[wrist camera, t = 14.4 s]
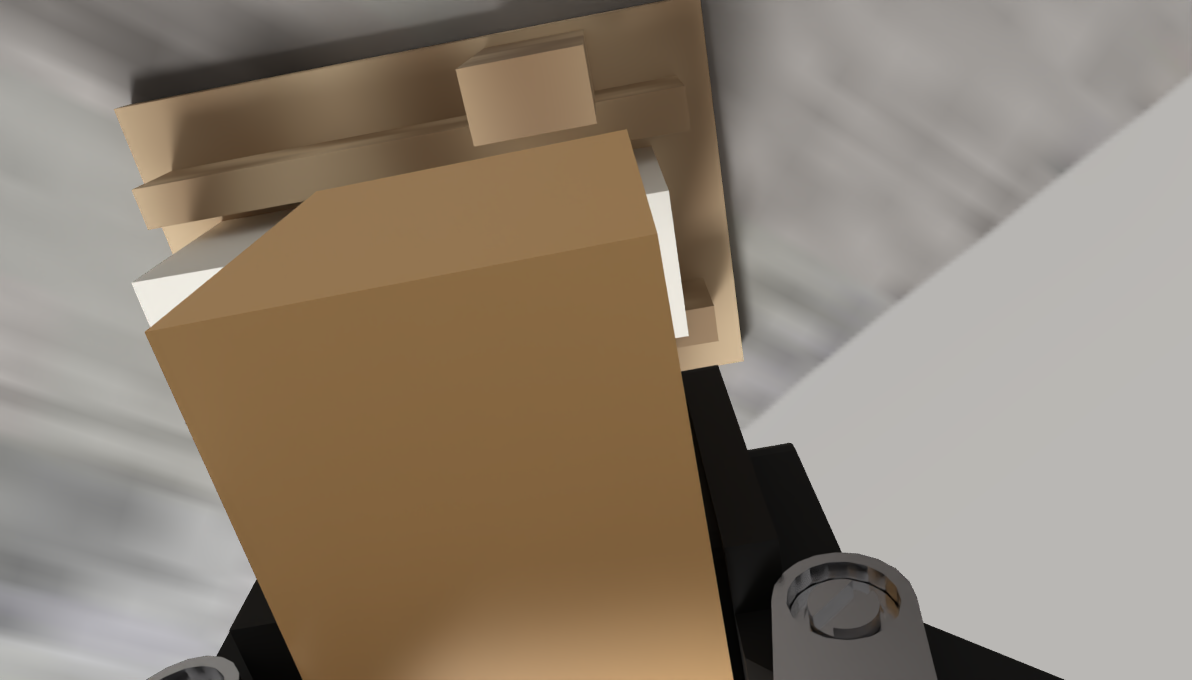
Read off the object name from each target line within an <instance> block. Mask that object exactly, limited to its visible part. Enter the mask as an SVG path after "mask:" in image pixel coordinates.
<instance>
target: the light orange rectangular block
mask: <svg viewBox="0 0 1192 680" xmlns="http://www.w3.org/2000/svg"><path fill="white" fill-rule="evenodd" d="M145 334H146V336H147V338H148V341H149V343H150V345H151V347H152V349H153V352H154V354H155V356H156V358H157V360H158V363H159V365H160V367H161V369H162V371H163V374H164V376H165V378H166V380H167V382H168V385H169V387H170V389H171V391H172V393H173V396H174V398H175V400H176V402H177V404H178V407H179V409H180V411H181V413H182V415H183V418H184V420H185V422H186V424H187V426H188V429H189V431H190V433H191V435H192V437H193V440H194V442H195V444H196V446H197V448H198V451H199V453H200V455H201V457H202V459H203V462H204V464H205V466H206V468H207V470H208V473H209V475H210V477H211V479H212V481H213V484H214V486H215V488H216V490H217V492H218V495H219V497H220V499H221V501H222V503H223V506H224V508H225V510H226V512H227V514H228V517H229V519H230V521H231V523H232V525H233V528H234V530H235V532H236V534H237V536H238V539H239V541H240V543H241V545H242V547H243V550H244V552H245V554H246V556H247V558H248V561H249V563H250V565H251V567H252V569H253V572H254V574H255V576H256V578H257V580H258V583H259V585H260V587H261V589H262V591H263V594H264V596H265V598H266V600H267V602H268V605H269V607H270V609H271V611H272V613H273V616H274V618H275V620H276V622H277V624H278V627H279V629H280V631H281V633H282V635H283V638H284V640H285V642H286V644H287V646H288V649H289V651H290V653H291V655H292V657H293V660H294V662H295V664H296V666H297V668H298V671H299V673H300V675H301V677H302V679H303V680H733V674H732V669H731V663H730V657H729V651H728V645H727V639H726V633H725V627H724V622H723V616H722V610H721V604H720V598H719V592H718V586H717V580H716V574H715V569H714V563H713V557H712V551H711V545H710V539H709V533H708V527H707V522H706V516H705V510H704V504H703V498H702V492H701V486H700V480H699V475H698V469H697V463H696V457H695V451H694V445H693V439H692V433H691V428H690V422H689V416H688V410H687V404H686V398H685V392H684V386H683V381H682V375H681V369H680V363H679V357H678V351H677V345H676V339H675V333H674V328H673V322H672V316H671V310H670V304H669V298H668V292H667V286H666V281H665V275H664V269H663V263H662V257H661V251H660V245H659V239H658V234H657V230H656V227H655V223H654V220H653V217H652V213H651V210H650V206H649V203H648V199H647V196H646V193H645V189H644V186H643V182H642V179H641V176H640V172H639V169H638V165H637V162H636V159H635V155H634V152H633V148H632V145H631V142H630V138H629V135H628V131H627V129H625V130H620V131H615V132H610V133H605V134H600V135H595V136H590V137H585V138H580V139H575V140H571V141H566V142H561V143H556V144H551V145H546V146H541V147H536V148H531V149H526V150H521V151H516V152H511V153H506V154H501V155H496V156H491V157H486V158H481V159H476V160H471V161H466V162H461V163H456V164H451V165H446V166H441V167H436V168H431V169H426V170H421V171H416V172H411V173H406V174H401V175H396V176H391V177H386V178H381V179H376V180H371V181H366V182H361V183H356V184H351V185H346V186H341V187H336V188H331V189H326V190H321V191H316V192H315V193H314V194H312V195H311V196H310V197H309V198H308V199H306V200H305V201H304V202H303V203H301V204H300V205H299V206H298V207H297V208H295V209H294V210H293V211H292V212H290V213H289V214H288V215H287V216H286V217H284V218H283V219H282V220H281V221H280V222H278V223H277V224H276V225H275V226H273V227H272V228H271V229H270V230H269V231H267V232H266V233H265V234H264V235H262V236H261V237H260V238H259V239H258V240H256V241H255V242H254V243H253V244H251V245H250V246H249V247H248V248H247V249H245V250H244V251H243V252H242V253H240V254H239V255H238V256H237V257H236V258H234V259H233V260H232V261H231V262H229V263H228V264H227V265H226V266H225V267H223V268H222V269H221V270H220V271H218V272H217V273H216V274H215V275H214V276H212V277H211V278H210V279H209V280H207V281H206V282H205V283H204V284H203V285H201V286H200V287H199V288H198V289H197V290H195V291H194V292H193V293H192V294H190V295H189V296H188V297H187V298H186V299H184V300H183V301H182V302H181V303H179V304H178V305H177V306H176V307H175V308H173V309H172V310H171V311H170V312H168V313H167V314H166V315H165V316H164V317H162V318H161V319H160V320H159V321H157V322H156V323H155V324H154V325H153V326H151V327H150V328H149V329H148V330H146V331H145Z"/></svg>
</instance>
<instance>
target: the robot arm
mask: <svg viewBox="0 0 1192 680" xmlns="http://www.w3.org/2000/svg"><path fill="white" fill-rule="evenodd" d="M681 375H682V381H683V386H684V392H685V398H686V404H687V410H688V416H689V422H690V428H691V433H692V439H693V445H694V451H695V457H696V463H697V469H698V475H699V480H700V486H701V492H702V498H703V504H704V510H705V516H706V522H707V527H708V533H709V539H710V545H711V551H712V557H713V563H714V569H715V574H716V580H717V586H718V592H719V598H720V604H721V610H722V616H723V622H724V627H725V633H726V639H727V645H728V651H729V657H730V663H731V669H732V674H733V680H1064V679H1061V678H1059V677H1056V676H1054V675H1052V674H1049V673H1047V672H1044V671H1041V670H1039V669H1037V668H1034V667H1032V666H1029V665H1027V664H1024V663H1022V662H1019V661H1016V660H1014V659H1012V658H1009V657H1007V656H1004V655H1002V654H1000V653H997V652H995V651H992V650H990V649H987V648H985V647H982V646H980V645H977V644H974V643H972V642H970V641H967V640H965V639H962V638H960V637H957V636H955V635H952V634H950V633H947V632H945V631H943V630H940V629H937V628H935V627H932V626H930V625H928V624H925V623H923V620H922V616H921V612H920V608H919V604H918V600H917V596H916V594H915V592H914V590H913V588H912V586H911V584H910V582H909V581H908V580H907V579H906V578H905V577H904V576H903V575H902V574H901V573H900V572H899V571H898V570H897V569H896V568H894V567H892V566H890V565H888V564H886V563H884V562H883V561H881V560H879V559H876V558H872V557H868V556H865V555H861V554H856V553H842V552H841V550H840V548H839V545H838V543H837V541H836V539H835V536H834V534H833V532H832V530H831V528H830V525H829V523H828V521H827V519H826V516H825V514H824V512H823V510H822V507H821V505H820V503H819V501H818V499H817V496H816V494H815V492H814V490H813V488H812V485H811V483H810V481H809V478H808V476H807V474H806V472H805V470H804V467H803V465H802V463H801V461H800V458H799V456H798V454H797V452H796V450H795V448H794V446H793V444H791V443H787V444H780V445H775V446H769V447H763V448H757V449H752V450H747V448H746V445H745V442H744V439H743V436H742V433H741V430H740V427H739V424H738V422H737V419H736V416H735V413H734V410H733V407H732V404H731V401H730V399H729V396H728V393H727V390H726V387H725V384H724V381H723V378H722V376H721V373H720V370H719V367H718V365H713V366H707V367H702V368H696V369H691V370H685V371H681ZM229 631H230V632H229V634H228V636H227V637H226V639H225V641H224V643H223V645H222V647H221V649H220V651H219V652H218V654H217V656H203V657H197V658H192V659H187V660H185V661H182V662H180V663H177V664H174V665H172V666H169V667H167V668H165V669H163V670H162V671H160V672H158V673H157V674H155V675H153V676H151V677H150V678H148V679H146V680H303V679H302V677H301V675H300V673H299V671H298V668H297V666H296V664H295V662H294V660H293V657H292V655H291V653H290V651H289V649H288V646H287V644H286V642H285V640H284V638H283V635H282V633H281V631H280V629H279V627H278V624H277V622H276V620H275V618H274V616H273V613H272V611H271V609H270V607H269V605H268V602H267V600H266V598H265V596H264V594H263V591H262V589H261V587H260V585H259V583H258V580H256V582H255V583H254V585H253V587H252V589H251V591H250V593H249V595H248V596H247V598H246V600H245V602H244V604H243V606H242V608H241V610H240V611H239V613H238V615H237V617H236V619H235V621H234V623H233V624H232V626H231V628H230V630H229Z"/></svg>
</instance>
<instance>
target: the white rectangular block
mask: <svg viewBox="0 0 1192 680" xmlns="http://www.w3.org/2000/svg"><path fill="white" fill-rule="evenodd" d="M633 152H634V155H635V159H636V162H637V165H638V169H639V172H640V176H641V179H642V182H643V186H644V189H645V193H646V196H647V199H648V203H649V206H650V210H651V213H652V217H653V220H654V223H655V227H656V230H657V234H658V239H659V245H660V251H661V257H662V263H663V269H664V275H665V281H666V286H667V292H668V298H669V304H670V310H671V316H672V322H673V328H674V333H675V338H679V337H685V336H689V334H688V327H687V320H686V312H685V305H684V298H683V291H682V283H681V276H680V269H679V262H678V254H677V247H676V240H675V233H674V225H673V218H672V211H671V204H670V196H669V190H668V187H667V185H666V182H665V180H664V177H663V174H662V172H661V169H660V167H659V164H658V161H657V159H656V156H655V154H654V151H653V148H652V146H649V147H644V148H638V149H633ZM293 210H294V209H289V210H284V211H278V212H272V213H266V214H261V215H255V216H249V217H244V218H238V219H232V220H226V221H221V222H220V223H219V224H217V225H216V226H214V227H213V228H211V229H210V230H208V231H207V232H205V233H204V234H202V235H201V236H199V237H198V238H197V239H195V240H194V241H192V242H191V243H189V244H188V245H186V246H185V247H183V248H182V249H180V250H179V251H177V252H176V253H175V254H173V255H172V256H170V257H169V258H167V259H166V260H164V261H163V262H161V263H160V264H158V265H157V266H155V267H154V268H152V269H151V270H150V271H148V272H147V273H145V274H144V275H142V276H141V277H139V278H138V279H136V280H135V281H133V282H132V285H133V288H134V290H135V292H136V295H137V297H138V299H139V302H140V304H141V306H142V309H143V311H144V313H145V316H146V318H147V321H148V323H149V325H150V327H151V326H153V325H154V324H155V323H156V322H157V321H159V320H160V319H161V318H162V317H164V316H165V315H166V314H167V313H168V312H170V311H171V310H172V309H173V308H175V307H176V306H177V305H178V304H179V303H181V302H182V301H183V300H184V299H186V298H187V297H188V296H189V295H190V294H192V293H193V292H194V291H195V290H197V289H198V288H199V287H200V286H201V285H203V284H204V283H205V282H206V281H207V280H209V279H210V278H211V277H212V276H214V275H215V274H216V273H217V272H218V271H220V270H221V269H222V268H223V267H225V266H226V265H227V264H228V263H229V262H231V261H232V260H233V259H234V258H236V257H237V256H238V255H239V254H240V253H242V252H243V251H244V250H245V249H247V248H248V247H249V246H250V245H251V244H253V243H254V242H255V241H256V240H258V239H259V238H260V237H261V236H262V235H264V234H265V233H266V232H267V231H269V230H270V229H271V228H272V227H273V226H275V225H276V224H277V223H278V222H280V221H281V220H282V219H283V218H284V217H286V216H287V215H288V214H289V213H290V212H292V211H293Z"/></svg>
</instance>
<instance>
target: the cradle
mask: <svg viewBox="0 0 1192 680" xmlns="http://www.w3.org/2000/svg"><path fill="white" fill-rule="evenodd" d="M114 111H115V113H116V116H117V118H118V121H119V123H120V125H121V128H122V130H123V133H124V135H125V138H126V140H127V143H128V145H129V148H130V150H131V152H132V155H133V157H134V160H135V162H136V165H137V167H138V170H139V172H140V175H141V177H142V180H143V182H144V184H143V185H141V186H139V187H137V188H135V189H133V190H132V192H133V194H134V197H135V199H136V202H137V204H138V206H139V209H140V211H141V214H142V216H143V218H144V221H145V223H146V226H147V228H148V230H150V229H155V228H161V227H162V229H163V231H164V234H165V236H166V238H167V241H168V243H169V246H170V248H171V251H172V253H173V254H175V253H176V252H177V251H179V250H180V249H182V248H183V247H185V246H186V245H188V244H189V243H191V242H192V241H194V240H195V239H197V238H198V237H199V236H201V235H202V234H204V233H205V232H207V231H208V230H210V229H211V228H213V227H214V226H216V225H217V224H219V223H220V222H221V221H226V220H232V219H238V218H244V217H249V216H255V215H261V214H266V213H272V212H278V211H284V210H289V209H295V208H297V207H298V206H299V205H300V204H301V203H303V202H304V201H305V200H306V199H308V198H309V197H310V196H311V195H312V194H314V193H315V192H316V191H321V190H326V189H331V188H336V187H341V186H346V185H351V184H356V183H361V182H366V181H371V180H376V179H381V178H386V177H391V176H396V175H401V174H406V173H411V172H416V171H421V170H426V169H431V168H436V167H441V166H446V165H451V164H456V163H461V162H466V161H471V160H476V159H481V158H486V157H491V156H496V155H501V154H506V153H511V152H516V151H521V150H526V149H531V148H536V147H541V146H546V145H551V144H556V143H561V142H566V141H571V140H575V139H580V138H585V137H590V136H595V135H600V134H605V133H610V132H615V131H620V130H625V129H627V131H628V135H629V138H630V142H631V145H632V148H633V149H638V148H644V147H649V146H652V148H653V151H654V154H655V156H656V159H657V161H658V164H659V167H660V169H661V172H662V174H663V177H664V180H665V182H666V185H667V187H668V190H669V196H670V204H671V211H672V218H673V225H674V233H675V240H676V247H677V254H678V262H679V269H680V276H681V283H682V291H683V298H684V305H685V312H686V320H687V327H688V334H689V336H685V337H679V338H675V339H676V345H677V351H678V357H679V363H680V369H681V371H685V370H691V369H696V368H702V367H707V366H713V365H724V364H730V363H736V362H742V361H744V360H743V351H742V343H741V335H740V326H739V318H738V310H737V301H736V293H735V285H734V276H733V268H732V260H731V251H730V243H729V235H728V226H727V218H726V210H725V201H724V193H723V185H722V176H721V168H720V160H719V151H718V143H717V135H716V126H715V118H714V110H713V101H712V93H711V85H710V76H709V68H708V59H707V51H706V43H705V34H704V26H703V18H702V9H701V1H700V0H664V1H659V2H654V3H648V4H643V5H638V6H633V7H628V8H623V9H618V10H613V11H607V12H602V13H597V14H592V15H587V16H582V17H577V18H571V19H566V20H561V21H556V22H551V23H546V24H541V25H536V26H530V27H525V28H520V29H515V30H510V31H505V32H500V33H495V34H489V35H484V36H479V37H474V38H469V39H464V40H459V41H453V42H448V43H443V44H438V45H433V46H428V47H423V48H418V49H412V50H407V51H402V52H397V53H392V54H387V55H382V56H377V57H371V58H366V59H361V60H356V61H351V62H346V63H341V64H335V65H330V66H325V67H320V68H315V69H310V70H305V71H300V72H294V73H289V74H284V75H279V76H274V77H269V78H264V79H259V80H253V81H248V82H243V83H238V84H233V85H228V86H223V87H217V88H212V89H207V90H202V91H197V92H192V93H187V94H182V95H176V96H171V97H166V98H161V99H156V100H151V101H146V102H141V103H135V104H130V105H127V106H123V107H120V108H116V109H114Z"/></svg>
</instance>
